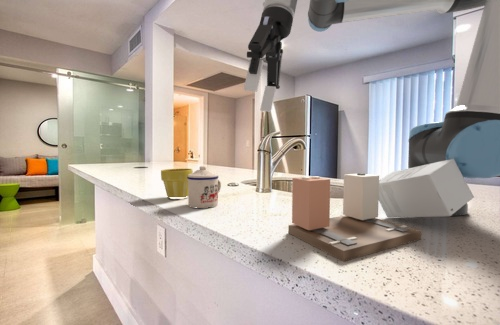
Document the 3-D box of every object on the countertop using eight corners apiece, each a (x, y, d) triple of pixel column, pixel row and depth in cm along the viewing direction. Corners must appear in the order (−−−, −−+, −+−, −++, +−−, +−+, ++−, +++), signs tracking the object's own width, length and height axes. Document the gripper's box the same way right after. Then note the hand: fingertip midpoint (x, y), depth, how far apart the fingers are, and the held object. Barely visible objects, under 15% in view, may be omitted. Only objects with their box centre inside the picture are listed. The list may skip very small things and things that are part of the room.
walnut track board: (357, 219, 59) (358, 212, 59) (421, 239, 46) (421, 229, 46) (288, 232, 50) (288, 224, 50) (343, 261, 37) (343, 249, 37)
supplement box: (409, 202, 64) (476, 198, 50) (386, 218, 61) (451, 218, 47) (393, 170, 64) (455, 157, 51) (369, 184, 61) (428, 174, 47)
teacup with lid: (203, 210, 68) (202, 168, 67) (181, 206, 73) (180, 166, 72) (231, 202, 77) (230, 165, 77) (209, 199, 83) (209, 164, 82)
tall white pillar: (358, 211, 58) (359, 172, 57) (377, 217, 54) (379, 174, 53) (342, 214, 56) (343, 173, 55) (362, 220, 51) (363, 175, 51)
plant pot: (155, 198, 84) (154, 169, 83) (179, 194, 92) (179, 167, 92) (175, 202, 78) (174, 171, 77) (199, 197, 86) (199, 169, 86)
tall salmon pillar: (311, 219, 52) (312, 175, 51) (329, 226, 47) (330, 177, 47) (292, 223, 49) (292, 176, 49) (308, 230, 45) (309, 179, 44)
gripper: (273, 44, 72) (257, 115, 71) (247, -28, 48) (223, 76, 47) (298, 45, 70) (283, 119, 69) (285, -30, 46) (260, 80, 45)
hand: (258, 102), depth 58 cm, fingers open, 13 cm apart
